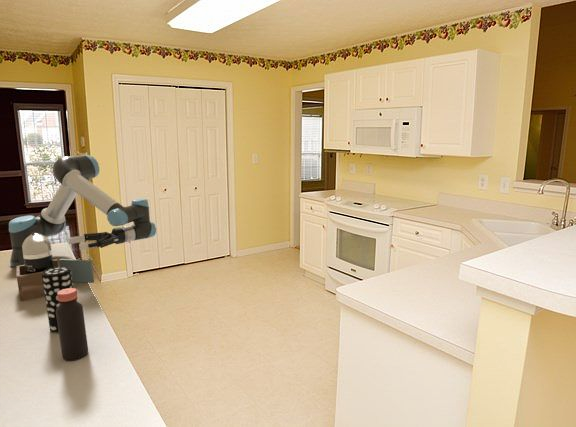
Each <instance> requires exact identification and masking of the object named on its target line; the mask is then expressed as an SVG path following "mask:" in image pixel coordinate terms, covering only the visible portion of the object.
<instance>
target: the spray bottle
mask: <svg viewBox="0 0 576 427" xmlns="http://www.w3.org/2000/svg"><path fill="white" fill-rule="evenodd" d="M22 249H23V258H24V261H25V267H26V274H32V273H38V272H43V271H45V270H47V269H50V268H54V264H53V260H54V258H53V250H52V244H51V241H50V239H49V238H48V237H45V236H43V235H41V234H39V233H37V232H33V233H32V234H31V235H30V236H28V237H27V238H26V239H25V241H24V242H23V245H22Z"/></svg>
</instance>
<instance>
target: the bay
mask: <svg viewBox="0 0 576 427" xmlns="http://www.w3.org/2000/svg"><path fill="white" fill-rule="evenodd" d="M53 264H54V268H55V267H59V260H58V259H53ZM15 268H16V281H17V288H18V293H19V299H20V302H23V301H27V300H31V299H36V298H42V297H45V293H44V287H43V280H42V272H38V273H32V274H26V267H25V265H20V266H16V267H15Z"/></svg>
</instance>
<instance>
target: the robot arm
mask: <svg viewBox="0 0 576 427" xmlns="http://www.w3.org/2000/svg"><path fill="white" fill-rule="evenodd" d="M99 165H100V164H99V162H98V160H97V159H96V158H95V157H94V156H93V155H89V154H82V155H70V156H69V155H68V156H67V155H66V156H62V157H60V158H57V160H56V161H55V162H54V163H53V166H52V173H53V176H54V178H55V179H56V181H57V182H58V183H59V184H60V186H59V187H58V189H57V191H56V192H55V194H54V196H53V197H52V199H51V201H50V203H49V204H48V207H45V208H43V209H42V210H41V212H40V213H39V215H38V216H34V215H23V216H18V217H16V218H14V219H11V220H10V221H9V222H8V232H9V237H10V242H11V249H12V251H11V254H10V259H9V263H10V266H11V267H12V268H16V266H20V265H25V261H24V258H23V249H22V245H23V242H24V241H25V239H26V238H27V237H28V236H30V235H31V234H32V233H33V232H37V233H39V234H41V235H43V236H45V237H47V238H48V237H52V236H56V235H58V234H61V233H62V232H64V230H65V228H66V226H67V223H66V222H67V220H66V216H65V215H66V214H67V211H68V210H69V208H70V206H72V203H73V202H74V200H75V198H76V196H77V195H79V196H80V197H81V198H83V199H84V200H85V201H87V202H88V203H90V204H91V205H92V206H94V207H95V208H96V209H98V210H99V211H101V212H102V213H103V214H104V215H105V216H106V219H107V221H108V222H109V224H110V225H111V226H112V227H115V228H112V230H111V233H109V232H107V231H103V232H94V233H93V232H92V233H84V234H83V235H78V236H73V237H68V245H72V244H78V243H79V244H78V246H79V247H78V248H79V251H84V250H85V251H86V250H89V249H94V248H101V249H103V248H105V247H108V246H110V245H113V244H115V245H120V244H124V243H131V242H134V241H139V240H144V239H145V240H146V239H149V238H152V237H155V236H156V234H157V227H156V224H155V222H153V221H151V220H150V219H151V217H150V207H149V201H148V199H146V198H134V199H132V201H131V203H130V204H131V205H127V206H123V205H122V204H121V203H119V202H118V201H116V199H115V198H114V199H113V198H112V197H111V196H110V195H108V194H107V193H106V192H105V191H104V190H102V189H100V188H99V187H97V185H95V184H94V183H93V182H91V181H90V180H91V179H94V178H96V177H98V175H99V174H100V166H99ZM129 223H133V224H131V225H128V224H129ZM124 225H125V226H124Z"/></svg>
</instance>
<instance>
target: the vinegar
mask: <svg viewBox="0 0 576 427" xmlns="http://www.w3.org/2000/svg"><path fill="white" fill-rule="evenodd" d="M77 290H78V289H77V288H75V287H73V288H67V289H63V290H60V291H59V292H57V296H58V302H59V303H60V305H59V306H58V307H57V309H56V317H57V324H58V330H59V333H58V337H59V344H60V351H61V357H62V359H63V360H64V361H68V362H74V361H77V360H80V359H83V358H84V357H86V356H87V355H88V352H89V346H88V337H87V330H86V323H85V322H86V321H85V314H84V307H83V304H82V303H81V302H79V301H78V291H77Z"/></svg>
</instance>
